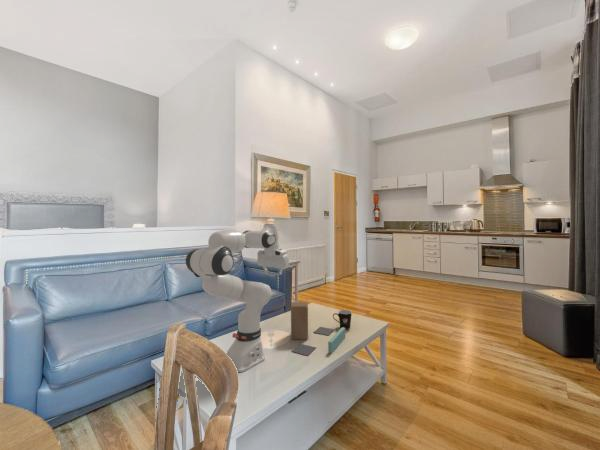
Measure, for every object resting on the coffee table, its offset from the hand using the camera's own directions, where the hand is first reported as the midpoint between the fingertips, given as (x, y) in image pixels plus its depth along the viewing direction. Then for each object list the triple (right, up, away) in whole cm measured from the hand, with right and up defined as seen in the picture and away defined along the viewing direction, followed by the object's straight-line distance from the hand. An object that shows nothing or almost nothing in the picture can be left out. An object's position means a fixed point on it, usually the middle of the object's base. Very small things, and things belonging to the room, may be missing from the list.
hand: (273, 273), depth 163 cm
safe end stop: (+37, -39, -8) cm, 54 cm away
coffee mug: (+44, -38, +19) cm, 61 cm away
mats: (+24, -39, -1) cm, 46 cm away
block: (+16, -39, +4) cm, 42 cm away
